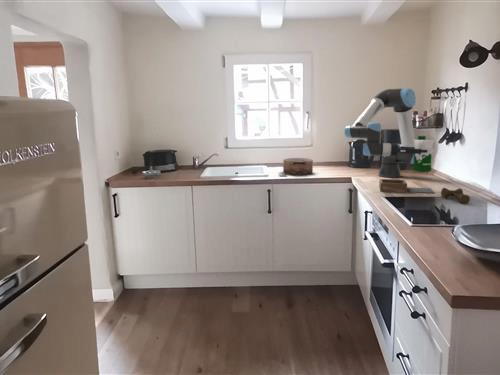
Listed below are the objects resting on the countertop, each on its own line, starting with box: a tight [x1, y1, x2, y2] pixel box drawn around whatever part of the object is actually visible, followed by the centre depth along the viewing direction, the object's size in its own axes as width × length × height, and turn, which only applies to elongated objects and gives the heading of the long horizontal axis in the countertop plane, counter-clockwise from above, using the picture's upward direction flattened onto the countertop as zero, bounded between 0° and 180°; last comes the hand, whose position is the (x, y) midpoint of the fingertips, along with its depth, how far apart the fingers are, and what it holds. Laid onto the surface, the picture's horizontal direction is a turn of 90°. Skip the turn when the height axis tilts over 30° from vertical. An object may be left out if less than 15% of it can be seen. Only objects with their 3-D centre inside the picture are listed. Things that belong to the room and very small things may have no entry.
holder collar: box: [378, 178, 408, 193], centre depth 230 cm, size 14×14×5 cm
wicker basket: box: [282, 157, 314, 176], centre depth 295 cm, size 30×22×11 cm
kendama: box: [440, 187, 471, 205], centre depth 202 cm, size 6×10×20 cm
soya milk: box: [412, 135, 435, 173], centre depth 222 cm, size 9×9×20 cm
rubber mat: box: [407, 186, 435, 195], centre depth 226 cm, size 13×13×1 cm
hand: (431, 150), depth 220 cm, fingers closed on soya milk, 9 cm apart
